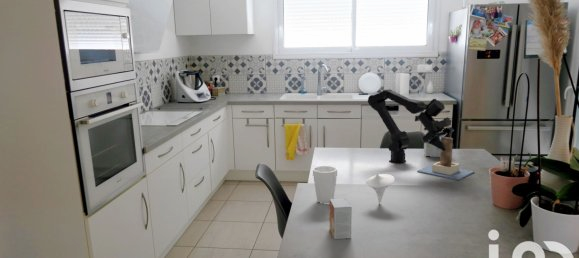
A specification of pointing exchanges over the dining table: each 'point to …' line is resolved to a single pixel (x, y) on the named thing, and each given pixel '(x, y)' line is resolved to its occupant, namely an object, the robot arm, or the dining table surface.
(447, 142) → the walnut column
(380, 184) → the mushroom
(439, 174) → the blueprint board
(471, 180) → the dining table surface
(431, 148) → the light bulb box
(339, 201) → the small box
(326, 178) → the foam cup
